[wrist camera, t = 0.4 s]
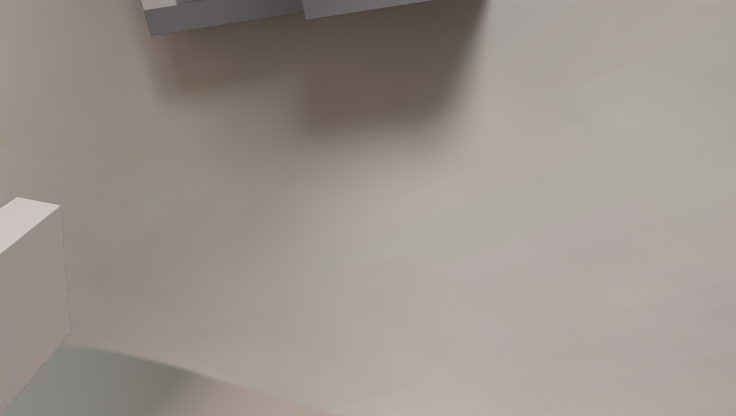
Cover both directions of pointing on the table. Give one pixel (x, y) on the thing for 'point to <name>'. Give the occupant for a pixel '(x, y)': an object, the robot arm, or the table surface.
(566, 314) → the table surface
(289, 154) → the table surface
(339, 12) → the grey socket holder
